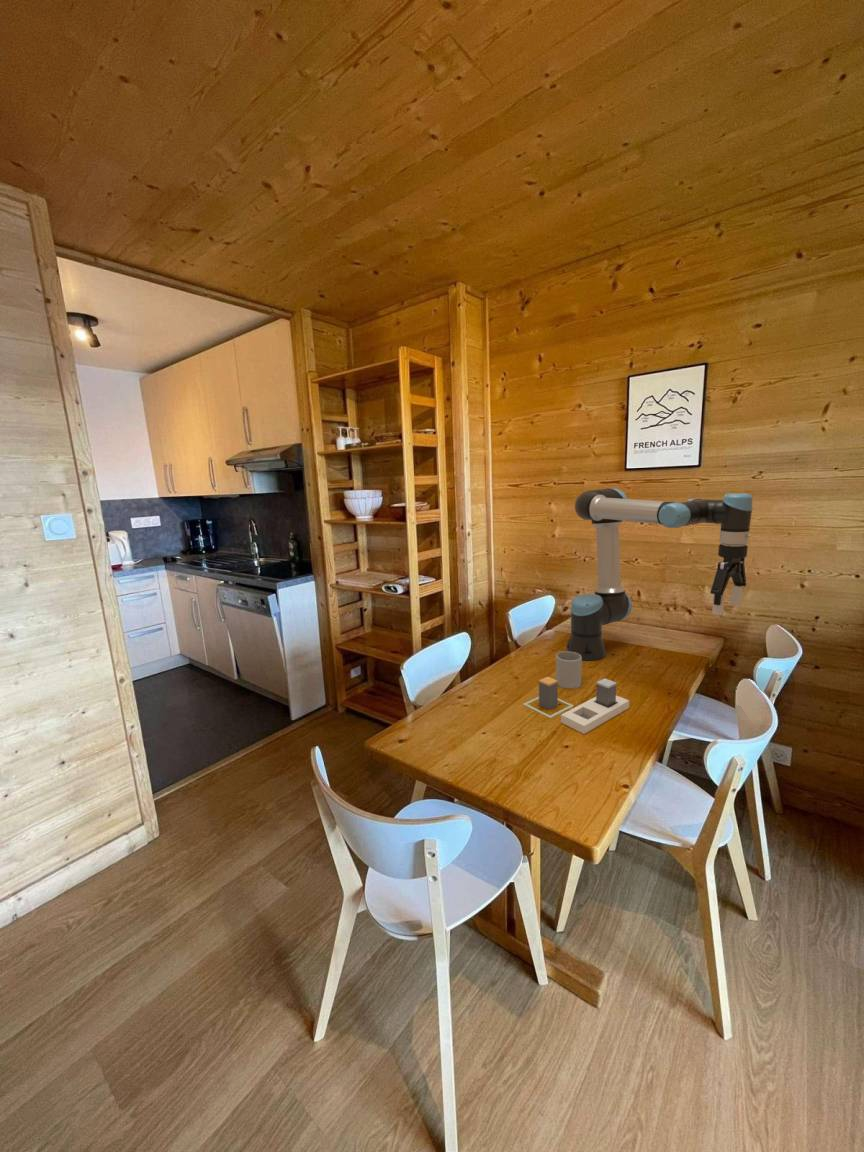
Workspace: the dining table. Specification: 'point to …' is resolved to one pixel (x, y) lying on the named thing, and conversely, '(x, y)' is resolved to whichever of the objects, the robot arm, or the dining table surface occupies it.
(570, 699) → the dining table surface
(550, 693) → the plug
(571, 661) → the mug
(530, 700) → the tray
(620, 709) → the strip
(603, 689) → the grey square peg
